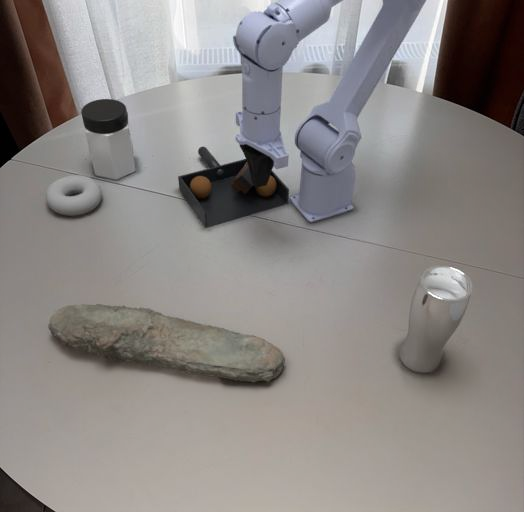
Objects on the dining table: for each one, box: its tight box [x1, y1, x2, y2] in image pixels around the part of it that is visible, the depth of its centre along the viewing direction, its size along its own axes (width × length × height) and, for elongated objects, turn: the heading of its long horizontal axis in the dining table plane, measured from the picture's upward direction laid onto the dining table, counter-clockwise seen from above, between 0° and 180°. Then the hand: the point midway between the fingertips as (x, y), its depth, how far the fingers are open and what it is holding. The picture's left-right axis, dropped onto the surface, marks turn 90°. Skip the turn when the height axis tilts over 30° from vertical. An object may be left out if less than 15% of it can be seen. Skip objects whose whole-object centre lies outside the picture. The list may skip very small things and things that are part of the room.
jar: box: [80, 98, 137, 181], centre depth 110 cm, size 9×8×12 cm
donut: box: [45, 174, 103, 217], centre depth 106 cm, size 10×4×10 cm
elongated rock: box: [48, 303, 286, 384], centre depth 83 cm, size 35×5×10 cm
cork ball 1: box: [190, 176, 212, 198], centre depth 107 cm, size 4×4×4 cm
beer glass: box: [398, 264, 474, 374], centre depth 79 cm, size 7×7×15 cm
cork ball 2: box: [255, 175, 276, 196], centre depth 108 cm, size 4×4×4 cm
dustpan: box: [177, 146, 290, 229], centre depth 111 cm, size 21×17×3 cm
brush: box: [231, 163, 254, 194], centre depth 108 cm, size 10×3×6 cm
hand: (259, 184), depth 96 cm, fingers closed
